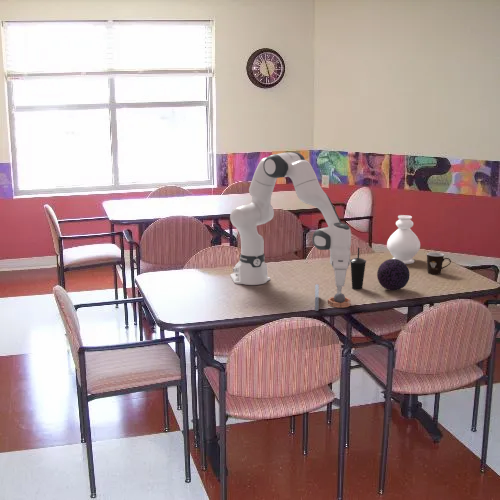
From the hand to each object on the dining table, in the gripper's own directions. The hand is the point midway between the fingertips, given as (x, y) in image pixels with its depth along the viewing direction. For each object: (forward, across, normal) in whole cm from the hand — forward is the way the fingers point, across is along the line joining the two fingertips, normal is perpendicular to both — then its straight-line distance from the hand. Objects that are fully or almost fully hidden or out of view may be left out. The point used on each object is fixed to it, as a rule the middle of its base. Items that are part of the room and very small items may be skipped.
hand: (338, 290), depth 312 cm
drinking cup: (+7, -26, +10) cm, 28 cm away
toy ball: (+6, -24, +26) cm, 36 cm away
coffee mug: (+6, -55, +52) cm, 76 cm away
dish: (+6, 0, 0) cm, 6 cm away
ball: (+3, +1, 0) cm, 4 cm away
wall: (+6, 0, -10) cm, 12 cm away
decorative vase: (+7, -80, +38) cm, 89 cm away
